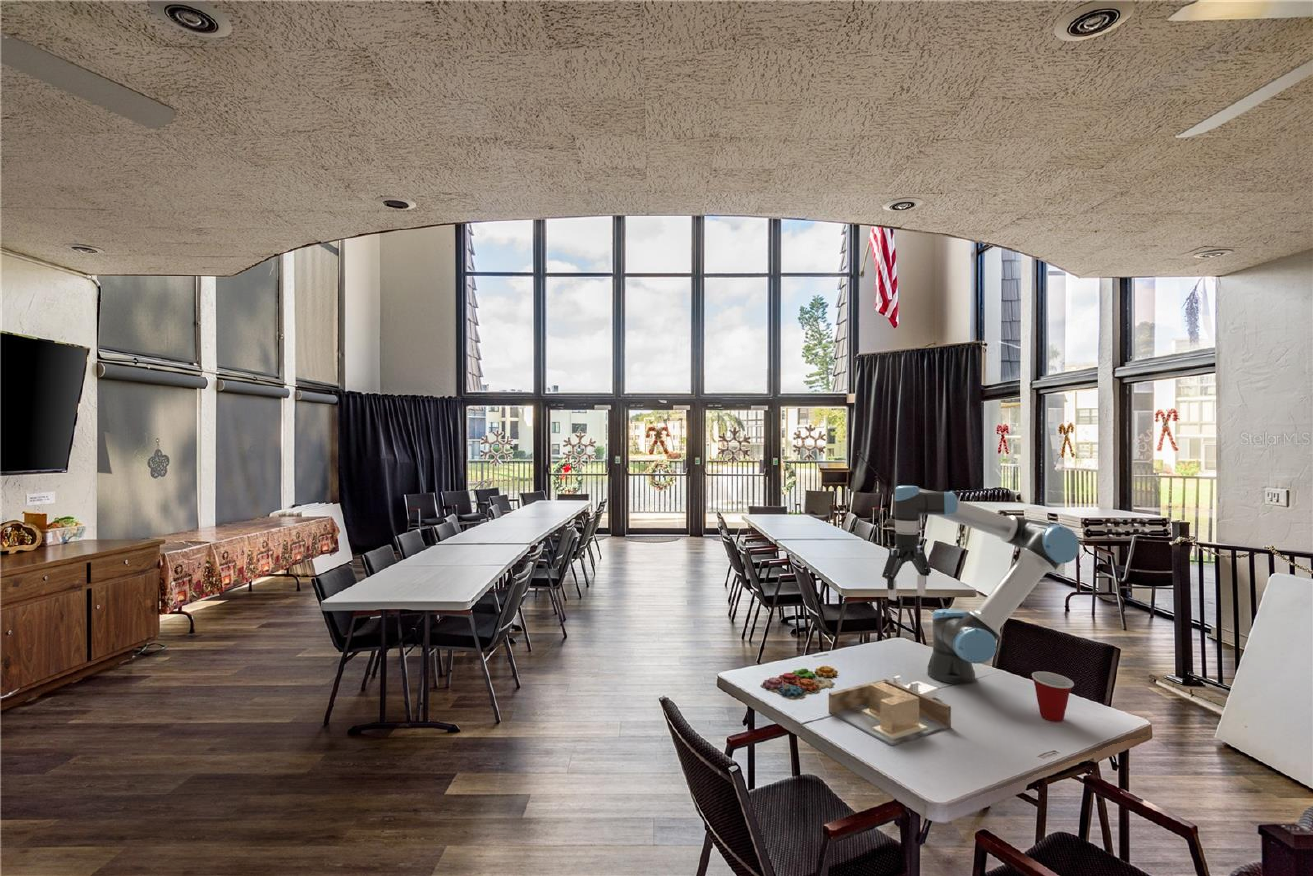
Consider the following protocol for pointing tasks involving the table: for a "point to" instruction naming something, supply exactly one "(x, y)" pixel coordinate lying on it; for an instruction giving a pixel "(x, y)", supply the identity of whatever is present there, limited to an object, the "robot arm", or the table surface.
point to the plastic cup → (1052, 694)
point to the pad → (895, 735)
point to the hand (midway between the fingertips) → (907, 597)
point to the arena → (850, 710)
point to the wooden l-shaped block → (893, 707)
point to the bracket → (918, 687)
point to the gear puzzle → (801, 682)
